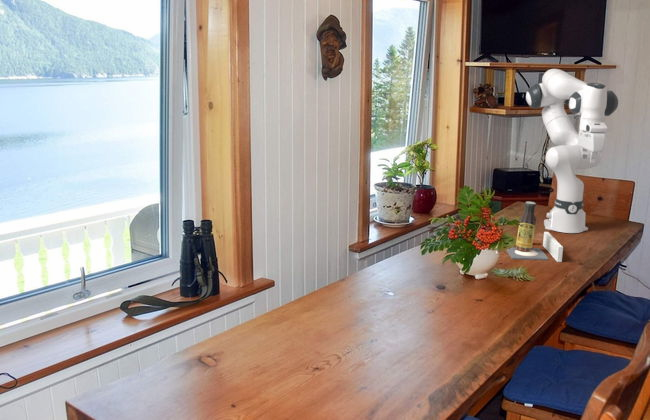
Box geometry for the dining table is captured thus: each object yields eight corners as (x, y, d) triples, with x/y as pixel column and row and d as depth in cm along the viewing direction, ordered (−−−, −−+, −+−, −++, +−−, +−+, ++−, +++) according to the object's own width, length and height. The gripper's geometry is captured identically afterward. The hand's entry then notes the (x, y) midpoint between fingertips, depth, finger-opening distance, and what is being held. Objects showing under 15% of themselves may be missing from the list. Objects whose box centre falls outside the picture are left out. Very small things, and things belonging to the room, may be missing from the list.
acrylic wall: (542, 245, 259) (544, 231, 258) (546, 245, 259) (548, 231, 258) (557, 262, 238) (558, 247, 236) (561, 262, 238) (563, 247, 236)
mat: (505, 248, 255) (505, 246, 255) (539, 249, 254) (539, 247, 253) (512, 259, 241) (512, 257, 241) (548, 260, 240) (548, 258, 240)
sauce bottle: (514, 250, 249) (519, 203, 244) (516, 246, 254) (521, 199, 249) (531, 253, 246) (537, 205, 241) (533, 249, 252) (538, 201, 247)
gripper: (575, 122, 251) (572, 156, 255) (591, 128, 232) (588, 164, 235) (591, 123, 251) (587, 156, 254) (609, 128, 231) (605, 165, 234)
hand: (588, 160), depth 244 cm, fingers open, 8 cm apart
